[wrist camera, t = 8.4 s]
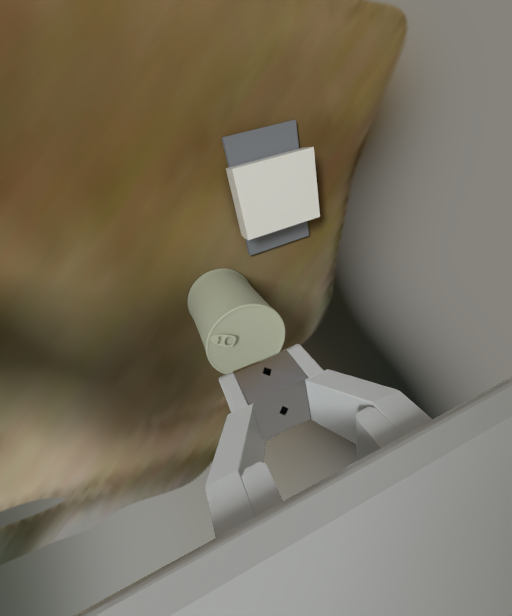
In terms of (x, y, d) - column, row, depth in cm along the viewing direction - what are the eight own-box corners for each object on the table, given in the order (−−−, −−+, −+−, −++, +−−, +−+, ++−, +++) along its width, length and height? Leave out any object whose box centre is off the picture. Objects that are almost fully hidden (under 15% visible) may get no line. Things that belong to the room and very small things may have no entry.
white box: (248, 240, 35) (320, 216, 37) (232, 169, 31) (313, 146, 33) (241, 235, 38) (309, 213, 40) (225, 168, 33) (302, 147, 36)
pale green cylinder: (196, 261, 38) (220, 299, 28) (259, 275, 42) (299, 311, 32) (180, 324, 41) (196, 378, 31) (240, 331, 45) (272, 380, 35)
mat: (248, 254, 40) (250, 255, 39) (221, 137, 33) (223, 137, 32) (306, 234, 42) (308, 235, 41) (293, 120, 34) (295, 119, 34)
